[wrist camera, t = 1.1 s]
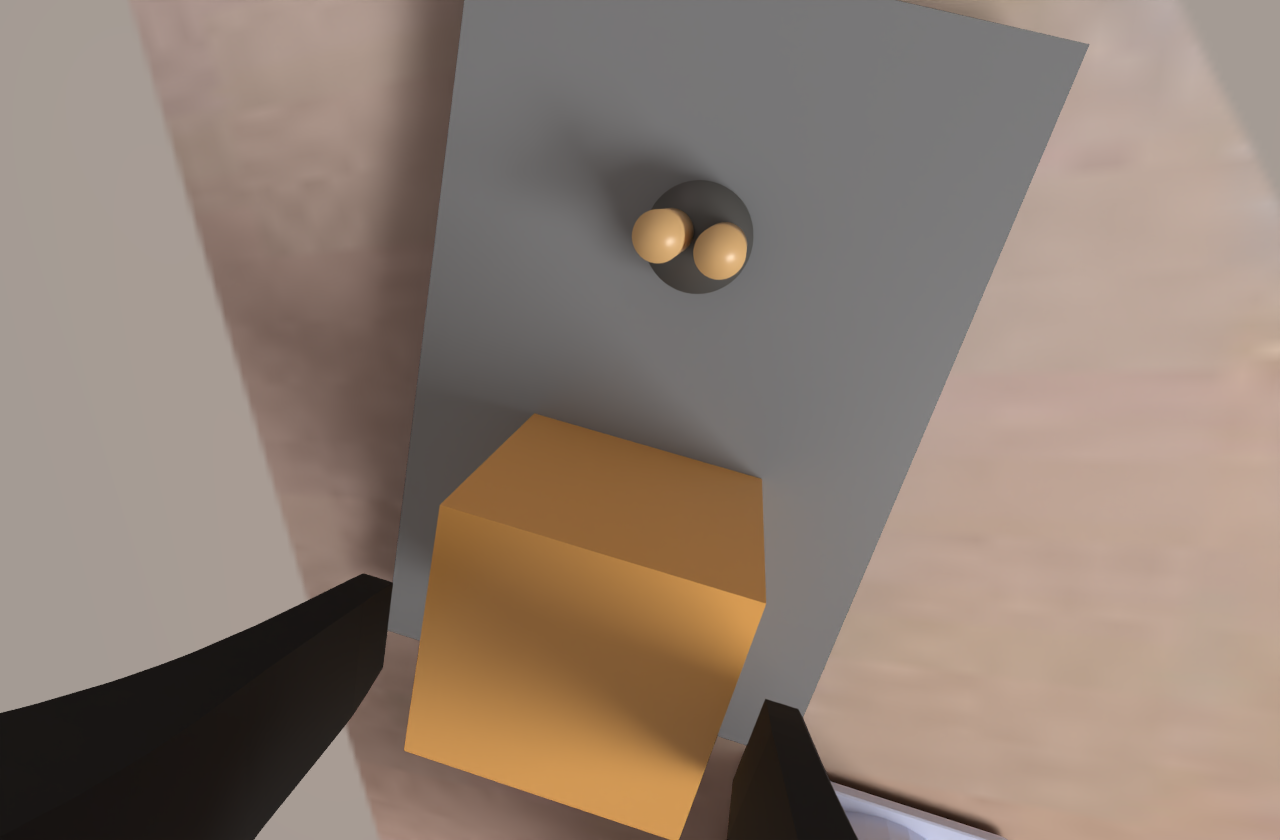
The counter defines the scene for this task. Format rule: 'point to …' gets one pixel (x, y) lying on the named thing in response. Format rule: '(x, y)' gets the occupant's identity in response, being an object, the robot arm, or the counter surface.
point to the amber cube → (589, 621)
